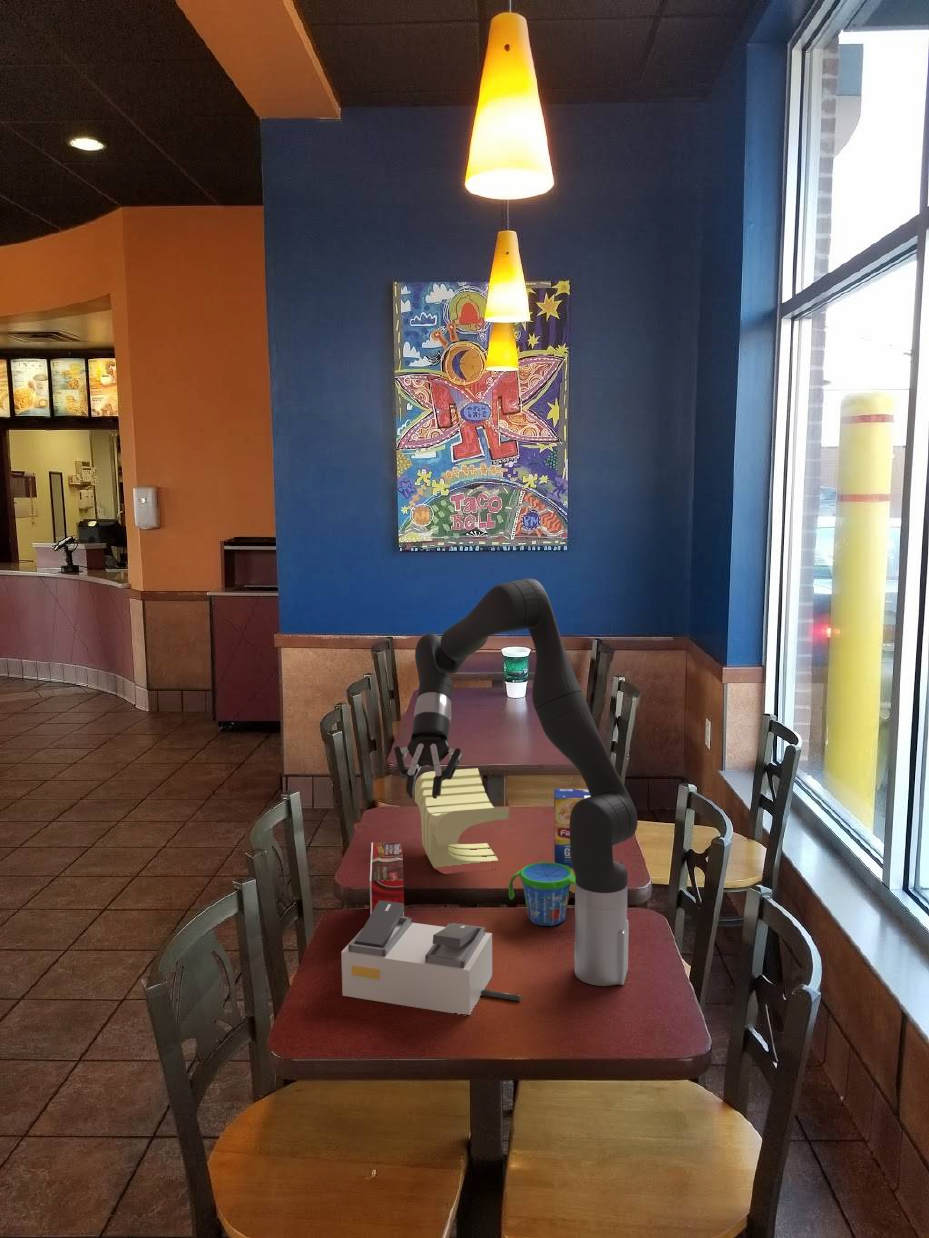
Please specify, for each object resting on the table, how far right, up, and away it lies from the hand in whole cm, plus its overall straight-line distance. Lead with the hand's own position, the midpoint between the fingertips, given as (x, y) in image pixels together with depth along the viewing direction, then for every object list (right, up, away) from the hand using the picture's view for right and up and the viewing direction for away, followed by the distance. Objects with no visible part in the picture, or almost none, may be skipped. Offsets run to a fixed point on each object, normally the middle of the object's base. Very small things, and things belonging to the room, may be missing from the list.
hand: (422, 795), depth 185 cm
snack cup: (+25, -27, +10) cm, 38 cm away
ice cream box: (-7, -28, +9) cm, 30 cm away
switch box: (+3, -31, -17) cm, 35 cm away
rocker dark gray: (-7, -20, -15) cm, 26 cm away
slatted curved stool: (+7, -23, +40) cm, 47 cm away
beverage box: (+33, -25, +23) cm, 47 cm away
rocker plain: (+7, -21, -19) cm, 29 cm away
